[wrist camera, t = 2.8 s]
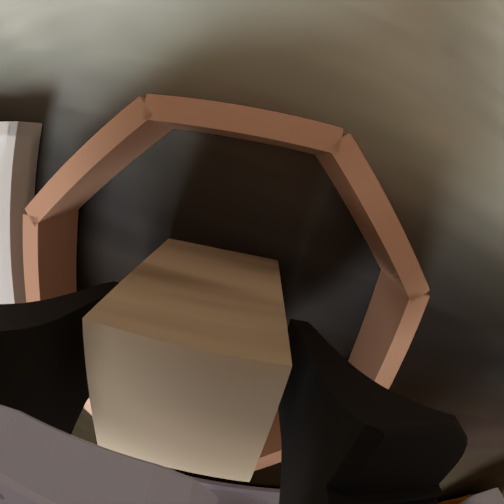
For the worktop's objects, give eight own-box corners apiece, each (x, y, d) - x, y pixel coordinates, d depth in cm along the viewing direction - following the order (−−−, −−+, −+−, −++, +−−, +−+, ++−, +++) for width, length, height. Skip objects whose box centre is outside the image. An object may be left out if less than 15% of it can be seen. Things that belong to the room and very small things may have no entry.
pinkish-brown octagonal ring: (327, 437, 15) (334, 478, 13) (72, 383, 15) (48, 415, 12) (425, 166, 11) (465, 170, 9) (78, 101, 11) (37, 92, 8)
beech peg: (255, 352, 14) (249, 482, 7) (159, 332, 14) (97, 445, 7) (278, 260, 13) (292, 366, 6) (169, 238, 13) (82, 318, 6)
